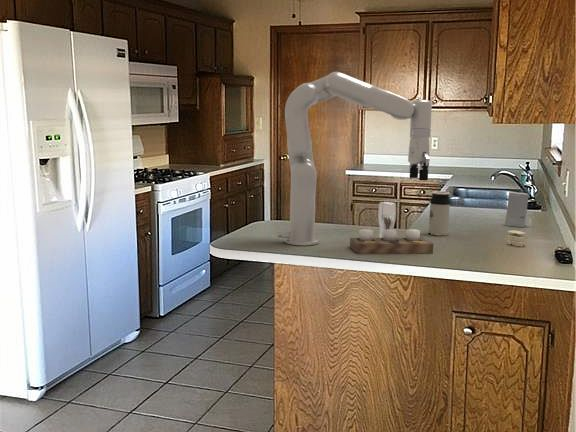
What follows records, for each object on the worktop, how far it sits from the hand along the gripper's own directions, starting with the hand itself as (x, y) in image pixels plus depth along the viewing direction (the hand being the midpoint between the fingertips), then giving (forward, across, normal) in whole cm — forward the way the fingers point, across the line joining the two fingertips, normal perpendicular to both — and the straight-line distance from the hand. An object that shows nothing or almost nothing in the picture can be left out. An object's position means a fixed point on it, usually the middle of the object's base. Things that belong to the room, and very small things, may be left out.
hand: (418, 179), depth 240 cm
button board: (+25, +8, -13) cm, 29 cm away
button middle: (+22, +6, -13) cm, 26 cm away
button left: (+22, +5, -22) cm, 31 cm away
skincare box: (+27, -44, +67) cm, 84 cm away
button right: (+22, +6, -4) cm, 23 cm away
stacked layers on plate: (+27, 0, +42) cm, 49 cm away
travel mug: (+26, -24, +19) cm, 40 cm away
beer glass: (+26, -11, -8) cm, 29 cm away
